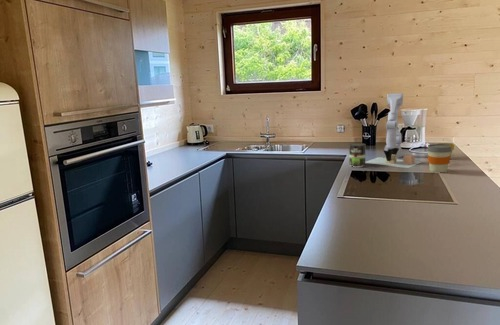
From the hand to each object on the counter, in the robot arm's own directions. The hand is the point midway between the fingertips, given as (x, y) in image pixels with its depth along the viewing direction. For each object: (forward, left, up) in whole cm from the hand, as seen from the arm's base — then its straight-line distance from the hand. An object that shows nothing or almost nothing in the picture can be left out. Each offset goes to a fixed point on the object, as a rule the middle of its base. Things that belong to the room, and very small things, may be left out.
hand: (391, 160), depth 247 cm
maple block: (0, 0, -2) cm, 2 cm away
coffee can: (+16, -15, -3) cm, 22 cm away
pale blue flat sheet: (-2, 0, -2) cm, 3 cm away
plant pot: (-31, +22, -3) cm, 38 cm away
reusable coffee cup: (+4, +31, -3) cm, 31 cm away
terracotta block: (-4, +10, -2) cm, 11 cm away
